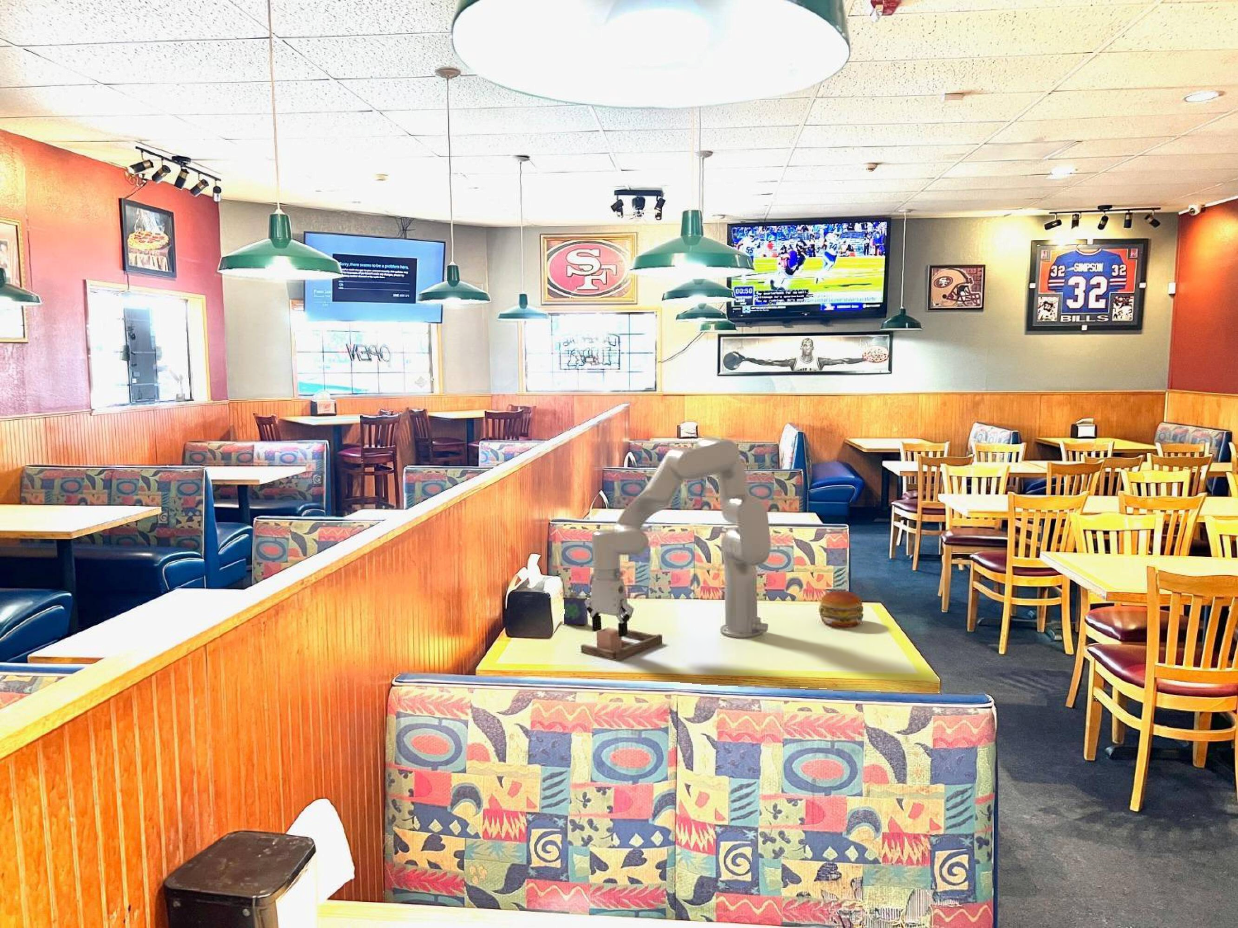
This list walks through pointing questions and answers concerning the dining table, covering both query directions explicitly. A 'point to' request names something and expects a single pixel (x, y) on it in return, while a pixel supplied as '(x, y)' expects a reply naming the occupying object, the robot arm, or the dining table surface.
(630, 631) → the comb rack
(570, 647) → the dining table surface
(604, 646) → the block
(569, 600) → the dark blue pouch
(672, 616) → the dining table surface
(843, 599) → the burger
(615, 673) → the dining table surface
